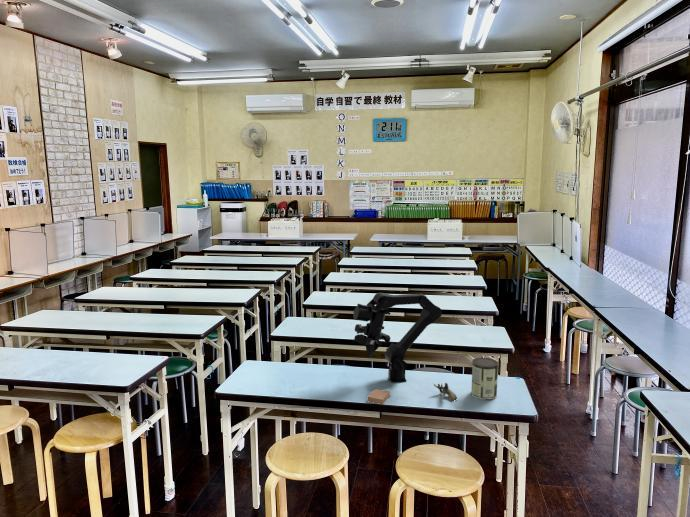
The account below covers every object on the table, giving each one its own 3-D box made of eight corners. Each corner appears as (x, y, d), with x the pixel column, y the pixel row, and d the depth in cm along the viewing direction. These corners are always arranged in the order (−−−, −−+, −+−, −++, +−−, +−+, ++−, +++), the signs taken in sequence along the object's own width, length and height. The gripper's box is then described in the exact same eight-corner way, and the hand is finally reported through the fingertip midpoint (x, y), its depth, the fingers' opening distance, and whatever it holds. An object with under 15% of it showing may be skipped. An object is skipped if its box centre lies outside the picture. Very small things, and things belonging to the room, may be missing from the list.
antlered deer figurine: (430, 393, 207) (444, 397, 200) (436, 376, 209) (450, 380, 202) (442, 400, 211) (458, 404, 203) (448, 383, 213) (463, 387, 205)
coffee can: (482, 387, 216) (484, 355, 214) (502, 396, 207) (504, 363, 205) (465, 393, 210) (466, 360, 208) (484, 402, 202) (486, 368, 200)
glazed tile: (375, 388, 210) (367, 396, 202) (390, 391, 207) (382, 399, 200) (375, 394, 210) (367, 402, 203) (390, 397, 207) (382, 405, 200)
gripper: (374, 316, 229) (367, 349, 230) (348, 317, 214) (340, 352, 216) (394, 324, 222) (386, 358, 223) (368, 326, 207) (360, 362, 209)
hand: (368, 357), depth 218 cm, fingers closed
